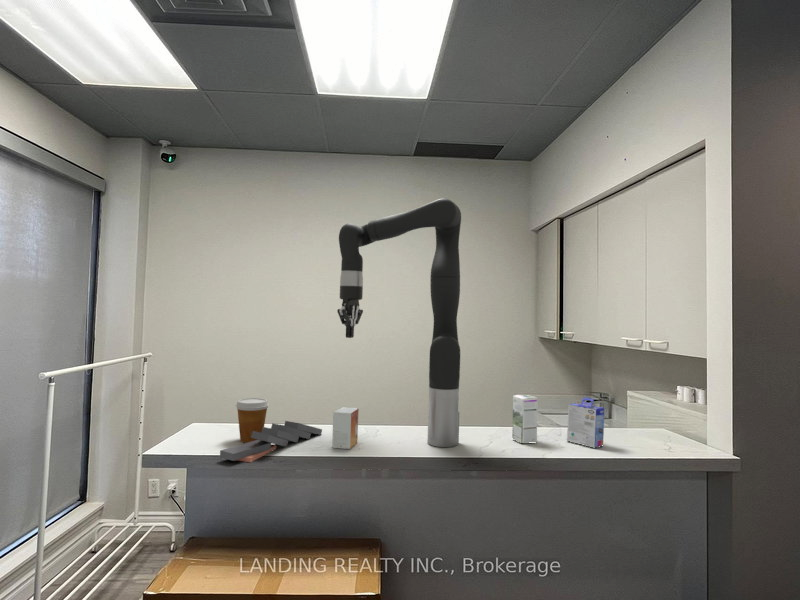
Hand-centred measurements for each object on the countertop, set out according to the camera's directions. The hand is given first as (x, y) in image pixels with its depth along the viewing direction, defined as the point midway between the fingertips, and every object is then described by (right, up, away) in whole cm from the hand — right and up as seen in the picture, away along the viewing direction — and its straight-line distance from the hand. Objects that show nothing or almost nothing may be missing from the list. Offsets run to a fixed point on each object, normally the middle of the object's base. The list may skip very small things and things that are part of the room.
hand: (349, 337), depth 162 cm
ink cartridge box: (+75, -34, -6) cm, 83 cm away
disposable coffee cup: (-28, -30, -14) cm, 44 cm away
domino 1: (-21, -28, -25) cm, 43 cm away
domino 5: (-13, -30, -9) cm, 34 cm away
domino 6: (-11, -30, -4) cm, 32 cm away
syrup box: (+56, -33, -6) cm, 65 cm away
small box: (0, -31, -16) cm, 35 cm away
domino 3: (-21, -30, -21) cm, 42 cm away
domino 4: (-16, -29, -14) cm, 36 cm away
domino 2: (-19, -29, -19) cm, 39 cm away
